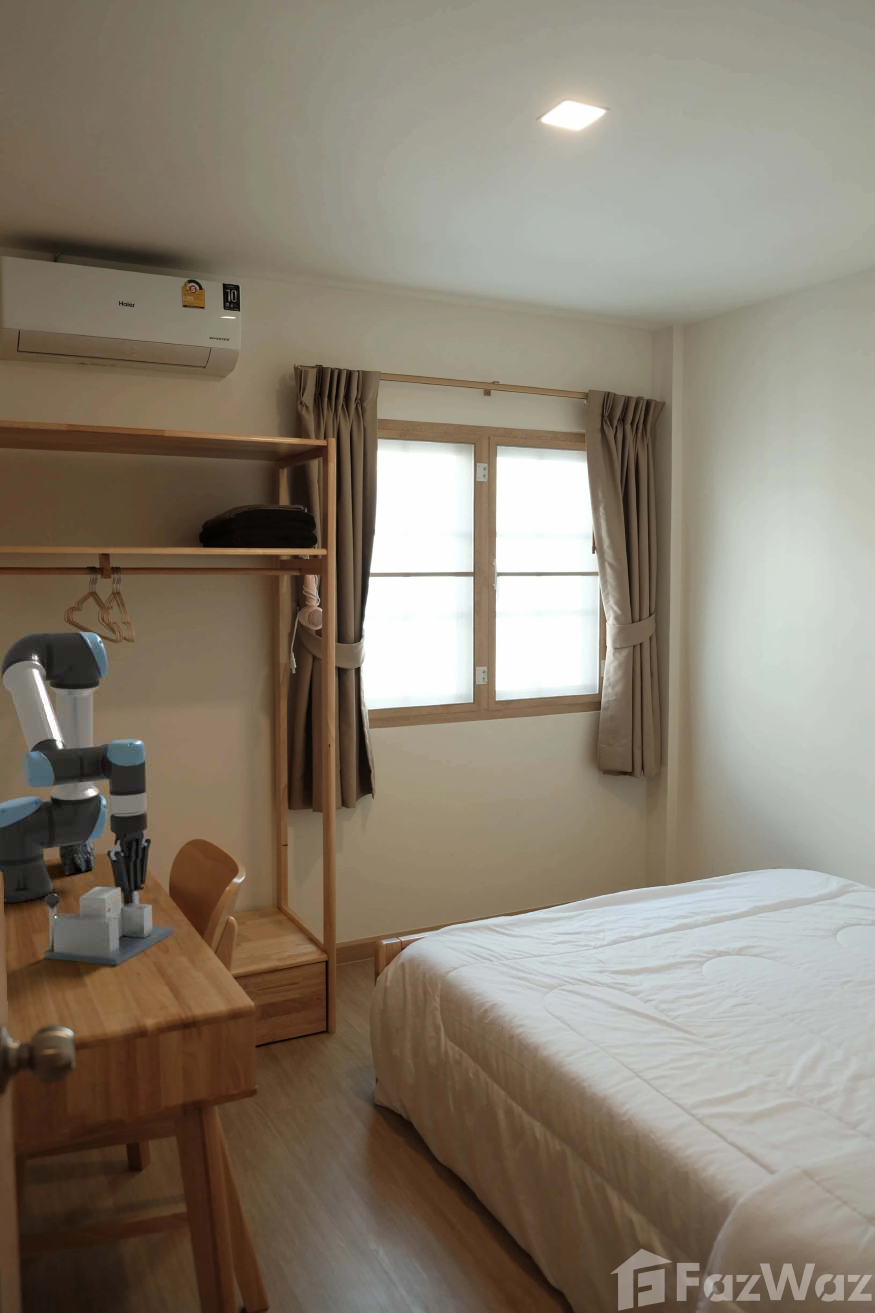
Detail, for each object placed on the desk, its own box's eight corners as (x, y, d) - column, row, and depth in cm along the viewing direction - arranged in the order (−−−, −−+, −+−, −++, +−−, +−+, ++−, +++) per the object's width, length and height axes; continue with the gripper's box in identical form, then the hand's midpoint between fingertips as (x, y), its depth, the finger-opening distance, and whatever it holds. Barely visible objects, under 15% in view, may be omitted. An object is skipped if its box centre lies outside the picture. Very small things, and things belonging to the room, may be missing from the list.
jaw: (99, 928, 213) (98, 900, 212) (152, 933, 209) (151, 905, 209) (90, 932, 210) (89, 904, 209) (144, 937, 206) (143, 909, 206)
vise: (102, 927, 218) (100, 870, 217) (173, 933, 213) (171, 875, 212) (41, 957, 199) (39, 895, 198) (117, 965, 194) (115, 901, 193)
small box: (97, 935, 208) (95, 886, 208) (123, 936, 208) (121, 886, 207) (80, 948, 200) (78, 897, 200) (106, 949, 200) (105, 897, 199)
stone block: (95, 873, 264) (92, 798, 263) (59, 876, 261) (56, 801, 260) (96, 857, 281) (94, 787, 280) (62, 860, 278) (60, 789, 278)
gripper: (130, 805, 219) (134, 911, 220) (94, 818, 207) (98, 929, 208) (160, 807, 217) (164, 913, 218) (126, 819, 204) (129, 932, 206)
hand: (132, 921), depth 213 cm, fingers closed
